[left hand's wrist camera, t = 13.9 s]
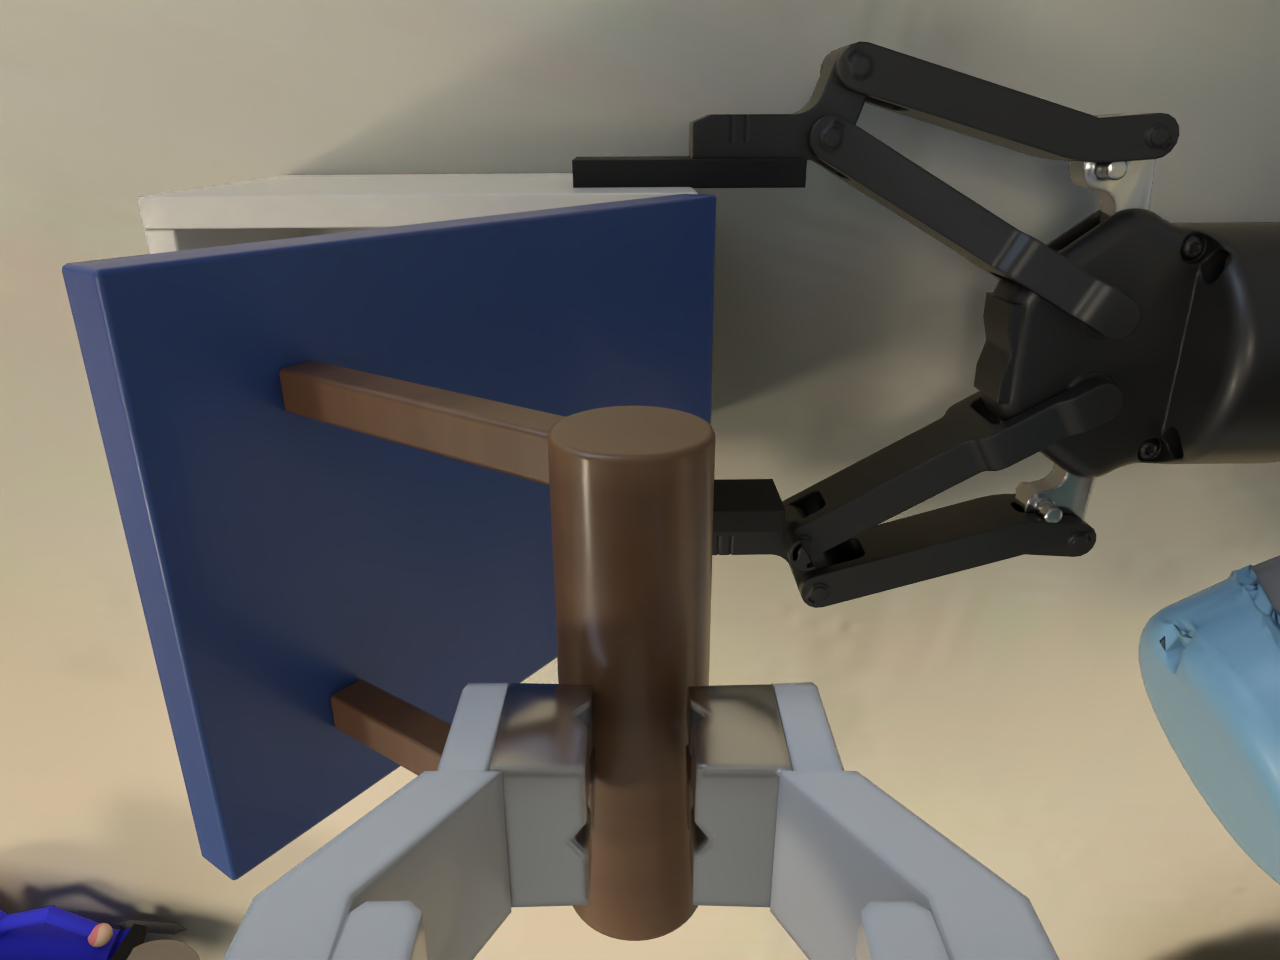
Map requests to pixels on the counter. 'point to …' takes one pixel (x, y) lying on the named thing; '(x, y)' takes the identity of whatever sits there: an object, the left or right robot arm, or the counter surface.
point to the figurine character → (85, 938)
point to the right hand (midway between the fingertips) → (580, 351)
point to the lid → (420, 507)
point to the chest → (354, 204)
